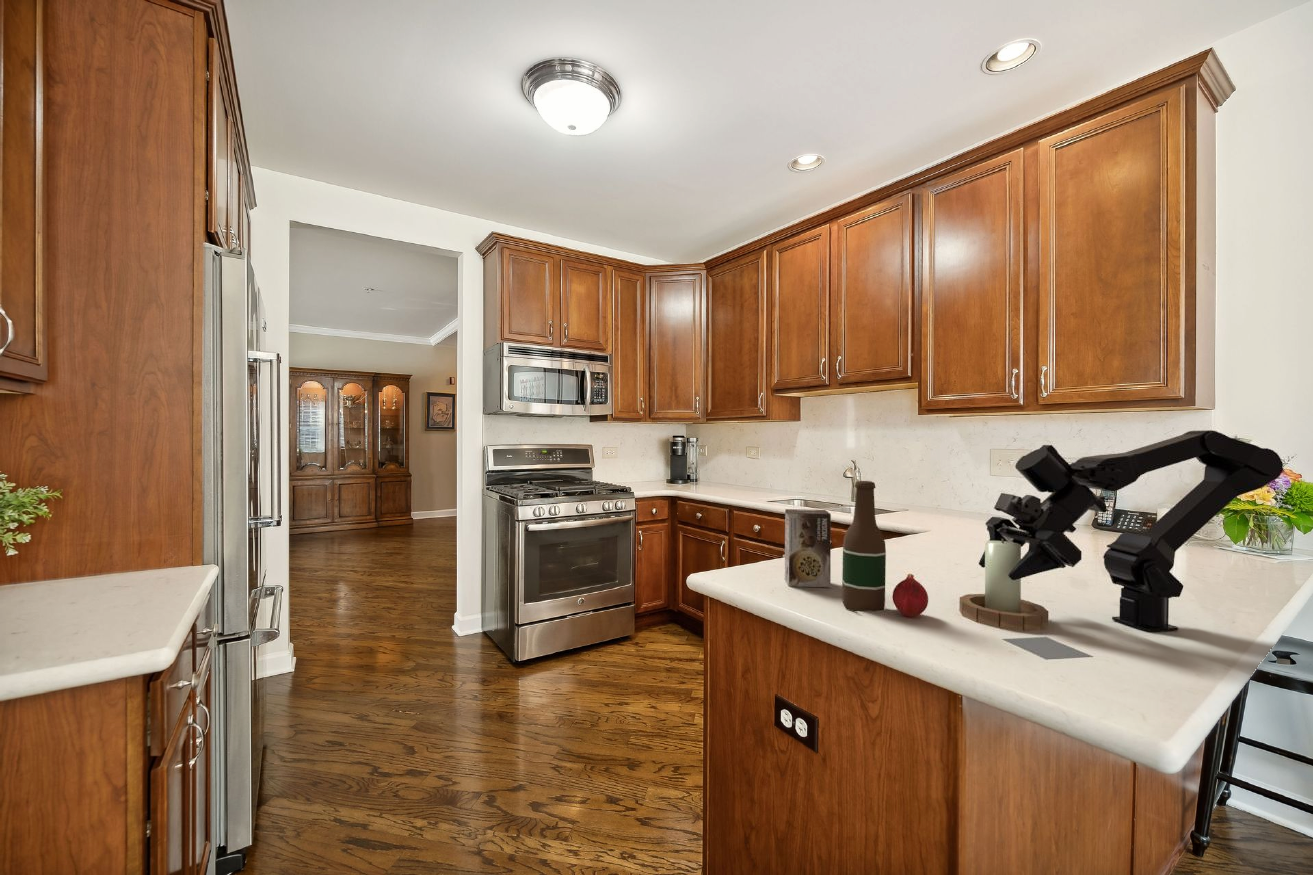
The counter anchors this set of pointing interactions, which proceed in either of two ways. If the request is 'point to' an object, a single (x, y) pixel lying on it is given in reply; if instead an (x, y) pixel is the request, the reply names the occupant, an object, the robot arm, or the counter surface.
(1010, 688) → the counter surface
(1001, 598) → the candle
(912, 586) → the onion
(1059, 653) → the mat
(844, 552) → the beer bottle
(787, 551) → the coffee box
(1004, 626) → the bowl
